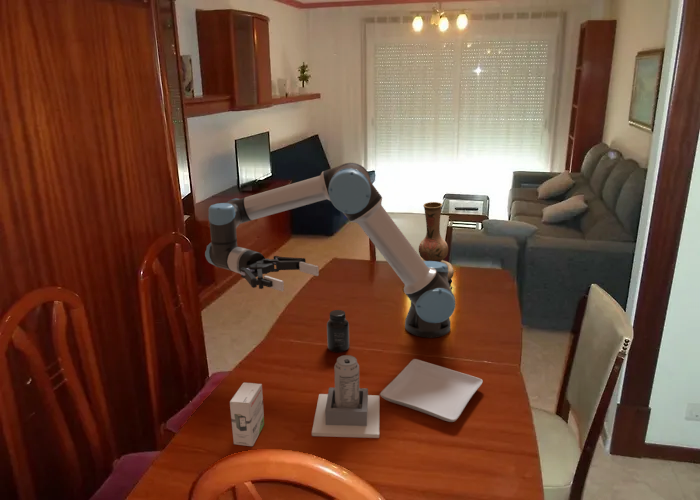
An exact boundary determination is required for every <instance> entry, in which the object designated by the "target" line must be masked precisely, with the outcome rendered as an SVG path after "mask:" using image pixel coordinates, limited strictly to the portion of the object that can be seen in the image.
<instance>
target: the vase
mask: <svg viewBox="0 0 700 500" xmlns="http://www.w3.org/2000/svg"><path fill="white" fill-rule="evenodd" d="M442 207H443V203H441V202H438V201H429V202H425V203H423V209H424V215H425V223H426V234H425V237H424V238H423V239H422V240H421V241H420V243H419V245H418V255H419V256H420V258H421V259H422V260H423V261H436V262H442V263H445V264H446V265H447V266H448V271H449V272H448V283H449V285H450V288H451V290H453V289H452V287H453V286H452V279H453V276H454V273H455V272H454V268H453V265H452V264H451V263H450V262H448V261H446V260H445V258H447V256H448V253H449V246H448V243H447V241H446V240H445V239H444V238H443V237H442V235H441V232H440V231H441V230H440V228H441V227H440V226H441V214H442Z"/></svg>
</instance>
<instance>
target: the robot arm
mask: <svg viewBox="0 0 700 500" xmlns="http://www.w3.org/2000/svg"><path fill="white" fill-rule="evenodd" d="M371 181H372V180H371V176H370V174H369V171H367V169H366V168H365V167H364V166H363V165H361V164H359V163H356V162H346V163H343V164H340V165H338V166H335V167H332V168H328V169H326V170H323V171H322V172H321V173H320V175H317V176H314V177H311V178H307V179H304V180H300V181H297V182H296V181H295V182H293V183H291V184H286V185H284V186H279V187H276V188H272V189H269V190H266V191H263V192H259V193H256V194H253V195H248V196H245V197H242V198H233V199H230V200H227V202H220V203H219V202H218V203H215V204H214V203H213V204H211V205H210V206H209V207H208V222H209V231H210V243H209V244H208V245H206V250H205V252H204V256H205V259H206V261H207V262H208V263H209V264H211V265H213V266H215V267H217V268H219V269H224V270H227V271H230V272H234V273H237V274H240V275H241V278H243V279H245V280H246V282H247V283H248V284H249V286H250V287H251V288H253V289H255V288H257V286H258V289H259V290H260V289H261V290H264V287H266V288H270V289H273V290H276V291H279V292H284V291H285V286H284V284H285V283H284V280H281V279H279V278H276V277H272V276H269V275H267V274H269V273H278V272H280V271H297V270H299V272H302V273H305V274H309V275H312V276H315V277H318V276H320V275H319V274H320V273H319V272H320V271H319V266H318V265H315V264H312V263H308V262H306V258H305V257H288V256H285V257H284V256H278V255H273V259H272V258H271V259H270V258H266V257H265V255H263V253H262V252H258V251H255V250H252V249H250V248H245V247H242V246H239V245H238V238H237V235H238V234H237V228H238V227H239V226H240V225H241V224H244V223H248V222H251V221H254V220H257V219H261V218H264V217H268V216H271V215H272V216H273V215H275V214H279V213H282V212H285V211H289V210H293V209H297V208H300V207H305V206H306V205H307V206H308V205H311V204H314V203H317V202H321V201H322V202H323V201H325V200H328V201H329V202H331V204H332V205H333V206H334V208H335V209H337V210H338V211H339V212H340V213H342V214H343V215H344V216H345V217H346V218H347V220H348V221H349V222H351V223H356V224H358V225H359V227H360V228H361V229H362V231H363V232H364V233H365V234H366V236H367V237H368V238H369V240H370V241H371V242H372V244H373V245H374V246H375V248H376V249H377V250H378V251H379V253H380V255H382V257H383V258H384V259H385V261H386V262H387V264H389V266H390V267H391V268H392V270H393V272H395V274H396V275H397V276H398V278H399V279H400V280H401V282H402V283H403V284H404V285H403V286H404V287H403V292H404V294H405V295H406V297H407V298H408V299H409V301H410V307H409V309H408V311H407V314H406V318H405V322H404V328H405V330H406V331H407V332H408V333H409V334H412V335H413V336H416V337H421V338H426V339H427V338H428V339H429V338H430V339H431V338H432V339H433V338H440V337H444V336H445V335H448V333H450V331H451V320H450V317H451V316H452V315H453V313H454V312H455V308H456V299H455V295H454V294H453V292H452V289H451V287H450V285H449V283H448V272H449V271H448V266H447V265H446V264H445V263H442V262H436V261H423V260H422V259H421V258H420V257H421V256H420V254H419V253H418V252H417V250H415V248H414V247H413V245H412V243H410V242H409V240H408V239H407V238H406V236H405V235H404V234H403V232H402V231H401V229H400V228H399V227H398V225H397V224H396V222H394V219H392V217H391V216H390V215H389V213H388V212H387V211H386V209H385V208H384V206H383V205H382V201H383V197H382V195H381V194H380V192H379V191H378V190H377V188H376V187H375V186H374V184H373V182H371Z"/></svg>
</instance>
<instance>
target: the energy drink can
mask: <svg viewBox="0 0 700 500" xmlns="http://www.w3.org/2000/svg"><path fill="white" fill-rule="evenodd" d="M333 369H334V388H335V408H350V409H359V388H360V365H359V363H358V359H357V358H356V357H355V356H353V355H350V354H348V355H347V354H345V355H341V356H338V357H337V358H336V362H335V364H334V367H333Z"/></svg>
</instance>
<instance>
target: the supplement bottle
mask: <svg viewBox="0 0 700 500" xmlns="http://www.w3.org/2000/svg"><path fill="white" fill-rule="evenodd" d="M349 323H350V322H349V321H348V320H347V319H346V312H345V311H344V310H341V309H334V310H332V311H330V313H329V319H328V321H327V322H326V336H327V337H326V339H327V340H326V341H327V349H328V351H330V352H332V353H344V352H346V351H347V350H349V348H350V324H349Z"/></svg>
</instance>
